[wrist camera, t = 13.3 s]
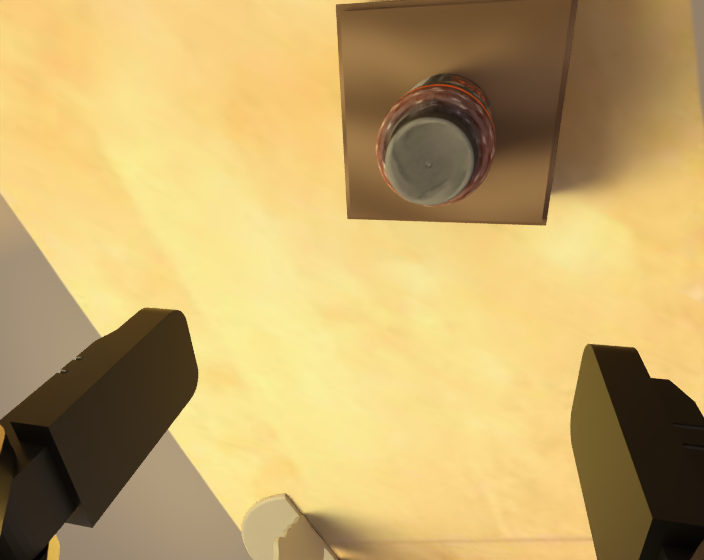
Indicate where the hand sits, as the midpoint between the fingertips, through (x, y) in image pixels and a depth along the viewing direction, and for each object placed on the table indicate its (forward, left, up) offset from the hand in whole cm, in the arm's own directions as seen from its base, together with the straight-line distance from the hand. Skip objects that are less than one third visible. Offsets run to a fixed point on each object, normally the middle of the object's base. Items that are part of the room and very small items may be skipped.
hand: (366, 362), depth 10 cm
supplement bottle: (0, 0, -26) cm, 26 cm away
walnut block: (0, 0, -32) cm, 32 cm away
